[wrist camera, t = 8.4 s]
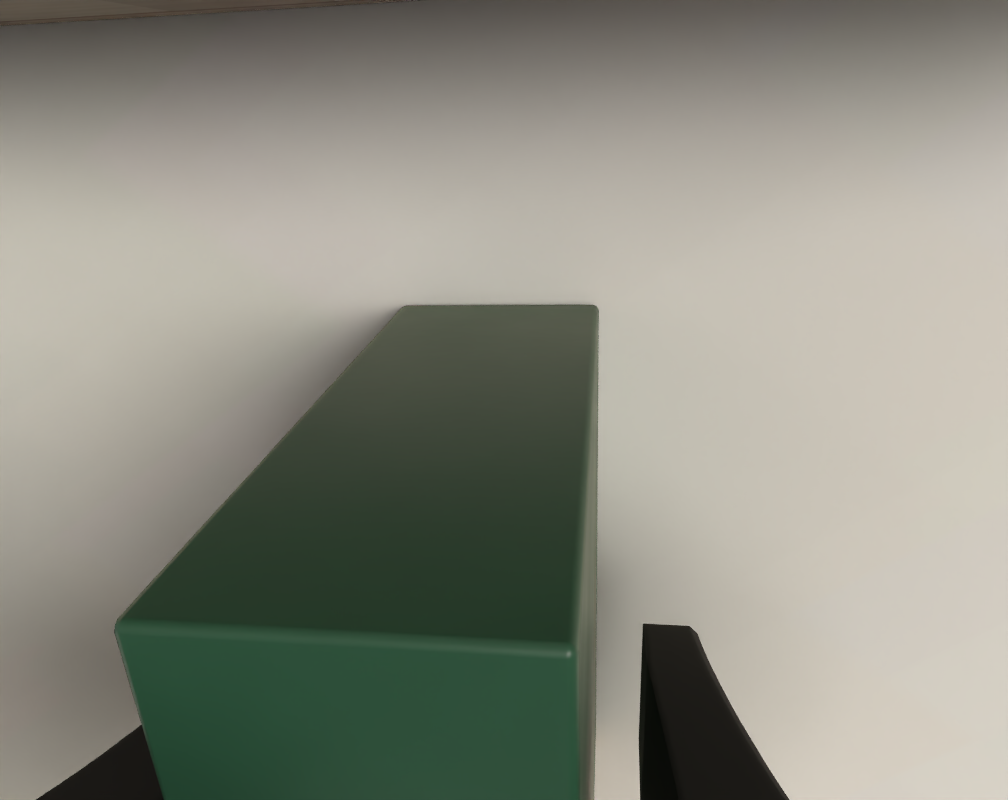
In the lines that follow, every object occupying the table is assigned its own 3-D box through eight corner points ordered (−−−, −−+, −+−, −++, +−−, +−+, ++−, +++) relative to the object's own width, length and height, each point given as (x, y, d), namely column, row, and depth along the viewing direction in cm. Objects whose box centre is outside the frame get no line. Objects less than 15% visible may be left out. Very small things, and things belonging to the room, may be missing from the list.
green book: (443, 743, 15) (304, 1292, 8) (401, 304, 12) (104, 624, 5) (595, 754, 15) (581, 1342, 8) (598, 303, 11) (579, 650, 4)
